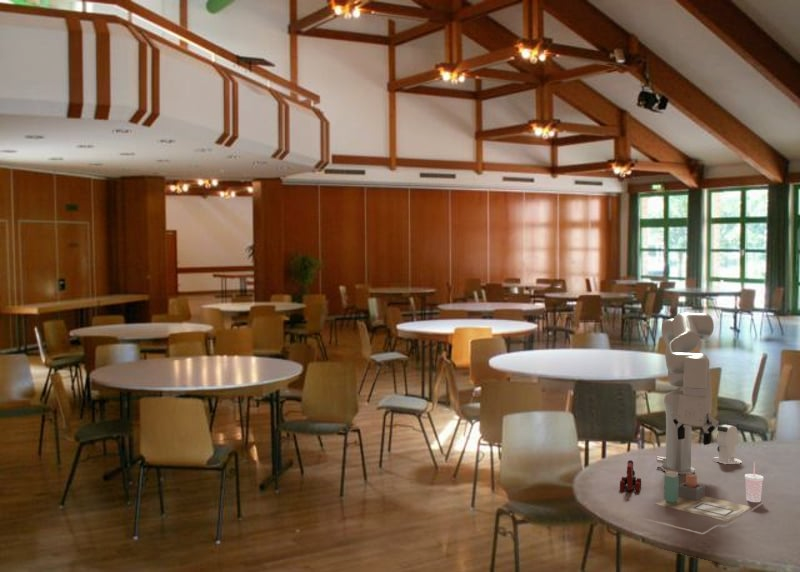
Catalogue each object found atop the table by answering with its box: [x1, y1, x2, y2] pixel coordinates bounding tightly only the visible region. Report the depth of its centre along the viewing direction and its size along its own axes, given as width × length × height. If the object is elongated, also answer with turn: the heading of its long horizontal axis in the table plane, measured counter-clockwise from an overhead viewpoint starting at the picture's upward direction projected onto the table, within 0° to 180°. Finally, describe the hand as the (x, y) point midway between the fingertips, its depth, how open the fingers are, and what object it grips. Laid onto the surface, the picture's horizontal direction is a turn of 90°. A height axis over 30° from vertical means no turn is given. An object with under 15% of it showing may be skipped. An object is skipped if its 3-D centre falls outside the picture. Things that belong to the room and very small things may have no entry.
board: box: [654, 495, 752, 524], centre depth 277 cm, size 25×20×1 cm
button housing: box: [678, 481, 706, 501], centre depth 286 cm, size 7×7×4 cm
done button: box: [685, 473, 698, 488], centre depth 286 cm, size 4×4×5 cm
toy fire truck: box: [619, 460, 642, 494], centre depth 296 cm, size 7×12×10 cm, turn 159°
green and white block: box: [663, 471, 680, 504], centre depth 279 cm, size 3×3×11 cm
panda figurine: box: [713, 422, 743, 465], centre depth 335 cm, size 12×11×15 cm
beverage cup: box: [744, 461, 764, 503], centre depth 283 cm, size 6×6×14 cm
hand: (693, 441), depth 280 cm, fingers open, 9 cm apart
